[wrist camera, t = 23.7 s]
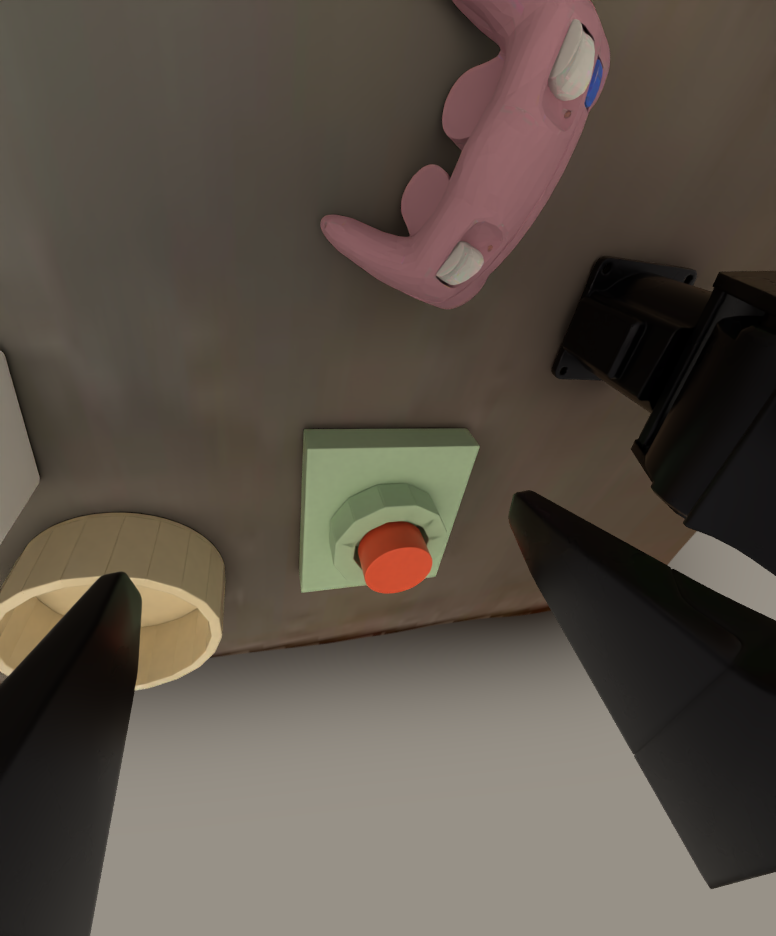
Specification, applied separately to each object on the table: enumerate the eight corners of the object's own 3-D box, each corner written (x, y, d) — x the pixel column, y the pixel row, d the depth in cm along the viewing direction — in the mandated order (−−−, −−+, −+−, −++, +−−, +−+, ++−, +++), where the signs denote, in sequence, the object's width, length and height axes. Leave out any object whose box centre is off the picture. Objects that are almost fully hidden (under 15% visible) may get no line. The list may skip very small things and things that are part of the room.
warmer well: (217, 506, 24) (211, 565, 21) (231, 616, 31) (228, 675, 27) (-18, 519, 21) (-71, 592, 18) (54, 639, 28) (26, 709, 24)
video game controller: (378, 270, 20) (480, 342, 17) (303, 234, 16) (413, 317, 13) (498, 15, 15) (669, 45, 12) (430, -109, 12) (643, -112, 9)
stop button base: (466, 428, 25) (495, 466, 22) (427, 556, 32) (445, 599, 29) (303, 428, 22) (311, 473, 19) (298, 570, 29) (303, 618, 26)
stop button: (427, 518, 24) (439, 544, 23) (414, 563, 26) (424, 589, 25) (361, 523, 23) (369, 550, 21) (354, 569, 25) (361, 597, 24)
